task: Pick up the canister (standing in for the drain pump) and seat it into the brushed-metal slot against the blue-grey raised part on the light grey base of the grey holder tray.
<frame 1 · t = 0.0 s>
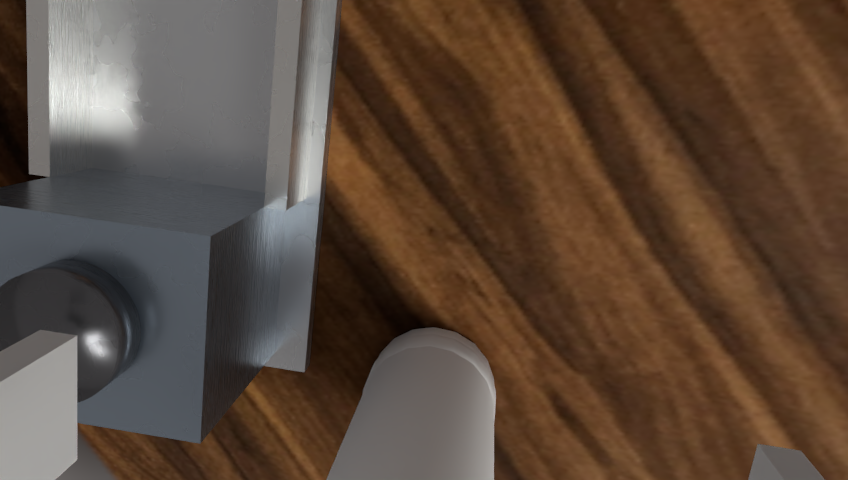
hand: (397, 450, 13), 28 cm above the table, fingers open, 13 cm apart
bottle: (433, 382, 43), on the table
grey holder tray: (198, 146, 41), on the table
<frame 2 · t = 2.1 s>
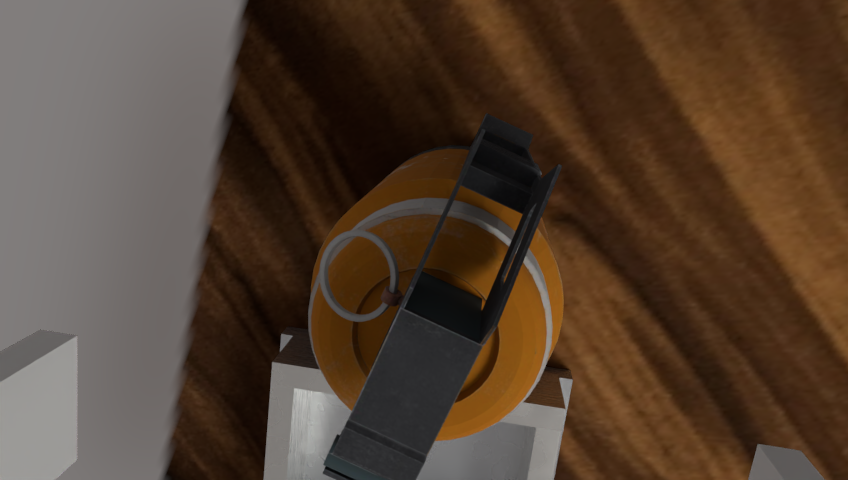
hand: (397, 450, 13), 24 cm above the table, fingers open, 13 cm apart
canister: (464, 210, 36), on the table
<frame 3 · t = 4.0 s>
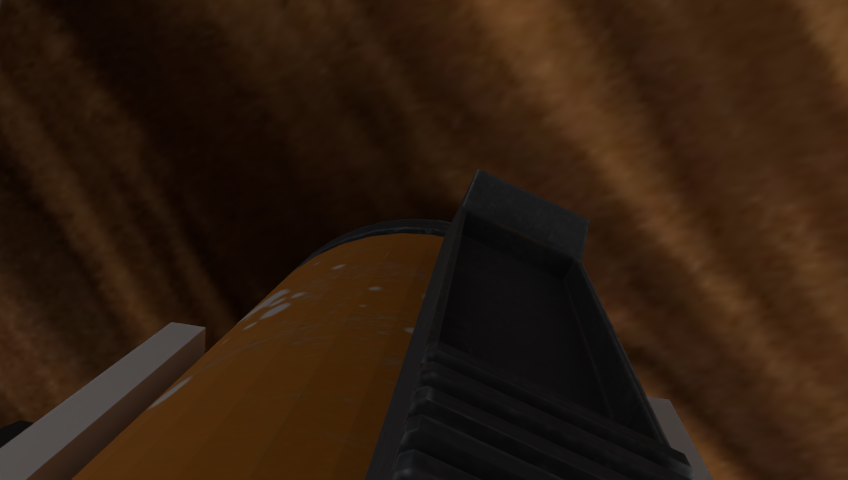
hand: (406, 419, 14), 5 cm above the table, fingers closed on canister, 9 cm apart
canister: (438, 337, 19), on the table, touching gripper
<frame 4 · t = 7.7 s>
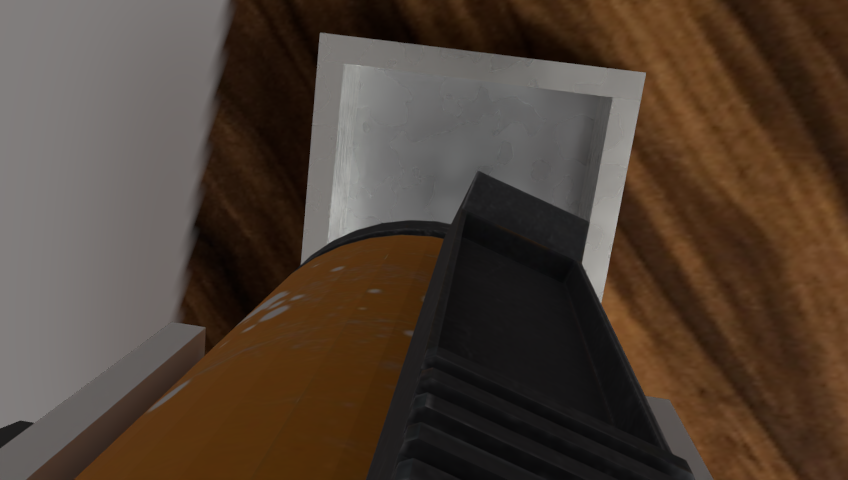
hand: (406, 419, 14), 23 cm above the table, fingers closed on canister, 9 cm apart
canister: (437, 338, 19), point 19 cm above the table, touching gripper
grey holder tray: (448, 299, 38), on the table
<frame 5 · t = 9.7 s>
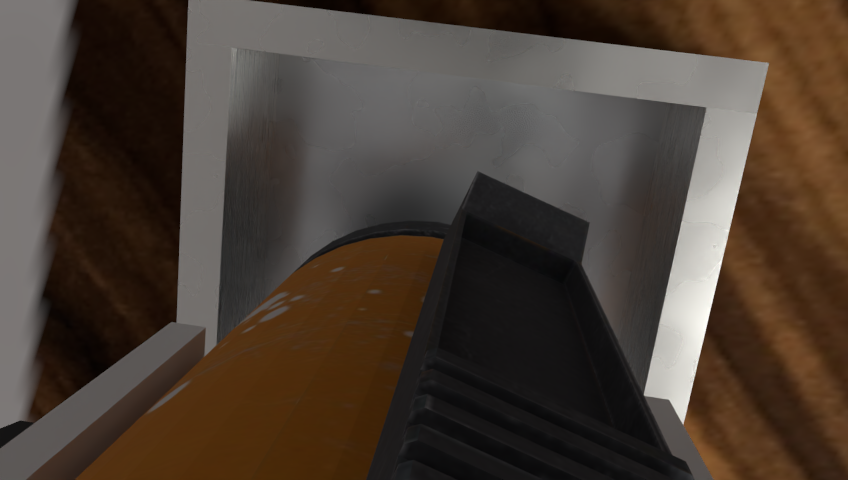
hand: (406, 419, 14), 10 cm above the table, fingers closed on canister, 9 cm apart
canister: (437, 339, 19), point 5 cm above the table, touching gripper
grey holder tray: (425, 411, 25), on the table
when the fingers open (7 cm above the table, at t = 11.0 s): canister drops 1 cm, resting on grey holder tray.
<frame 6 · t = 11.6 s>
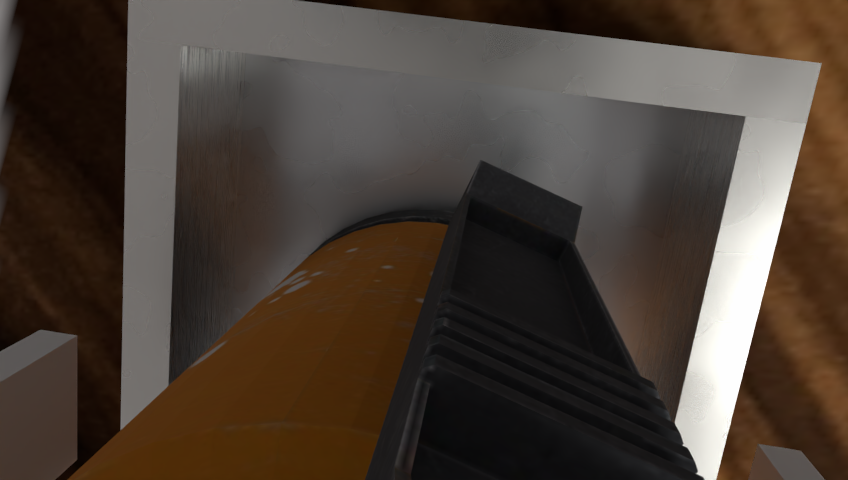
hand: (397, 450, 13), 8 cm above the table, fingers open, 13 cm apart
canister: (442, 321, 20), point 1 cm above the table, touching grey holder tray
grey holder tray: (415, 455, 22), on the table
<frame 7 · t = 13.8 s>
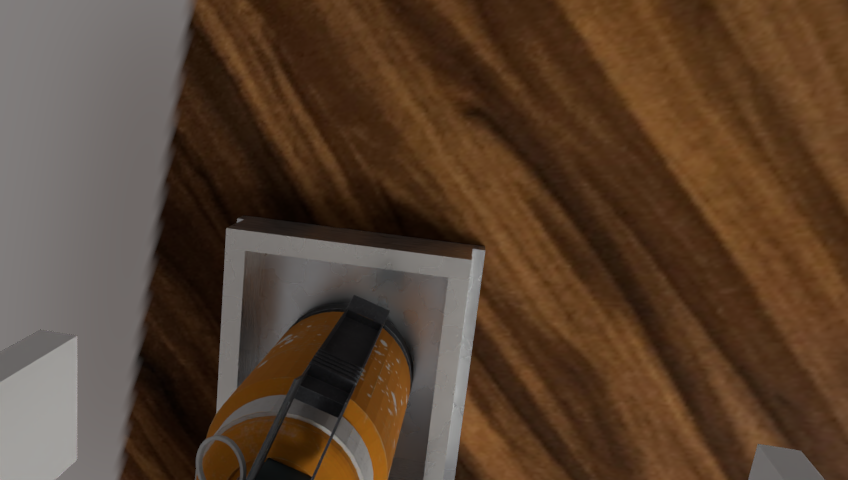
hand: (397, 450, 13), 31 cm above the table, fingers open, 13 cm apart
canister: (353, 350, 45), point 1 cm above the table, touching grey holder tray
grey holder tray: (345, 414, 47), on the table
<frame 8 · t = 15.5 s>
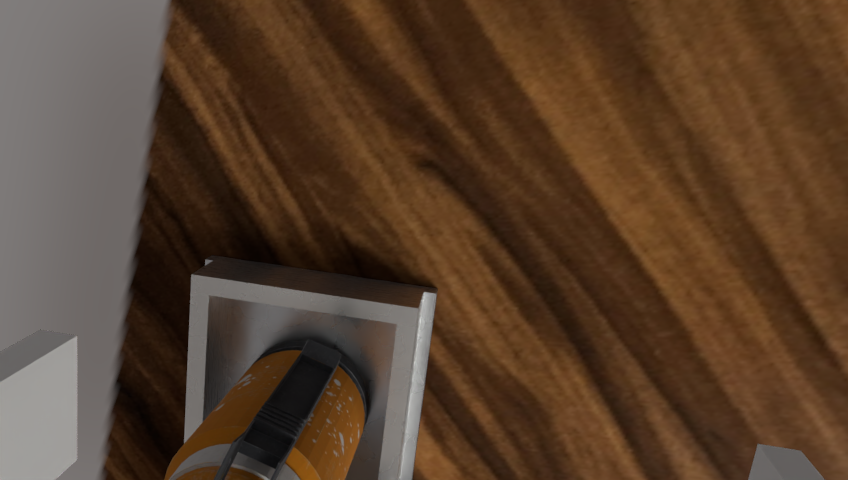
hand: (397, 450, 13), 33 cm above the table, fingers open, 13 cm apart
canister: (314, 383, 48), point 1 cm above the table, touching grey holder tray
grey holder tray: (308, 439, 50), on the table
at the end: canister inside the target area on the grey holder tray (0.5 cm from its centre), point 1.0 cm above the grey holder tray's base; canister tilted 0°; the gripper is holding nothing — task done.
